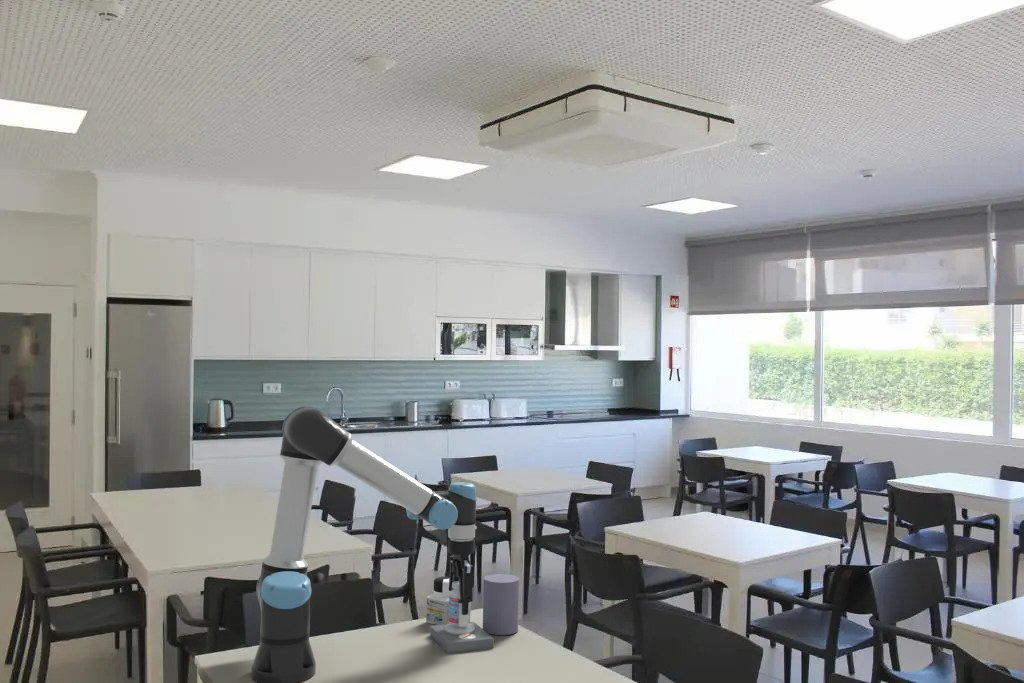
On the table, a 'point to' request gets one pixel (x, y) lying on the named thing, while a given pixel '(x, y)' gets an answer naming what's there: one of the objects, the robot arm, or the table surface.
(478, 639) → the scale
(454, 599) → the pill bottle
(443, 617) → the container
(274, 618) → the robot arm
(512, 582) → the container
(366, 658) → the table surface
